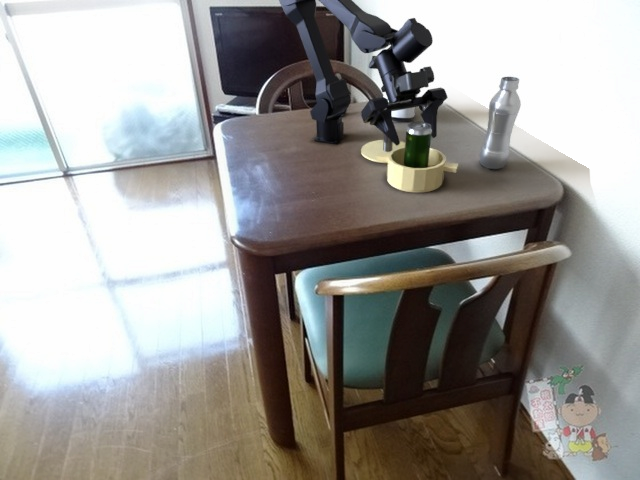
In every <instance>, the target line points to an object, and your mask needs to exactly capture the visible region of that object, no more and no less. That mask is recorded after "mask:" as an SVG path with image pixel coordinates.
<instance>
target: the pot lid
mask: <svg viewBox="0 0 640 480" xmlns="http://www.w3.org/2000/svg"><path fill="white" fill-rule="evenodd" d="M399 142H400V144H399V145H397V146H396V145H395V144H394V143H393V142H392V141H391V140H390V139H389V138H388V137H387V136H386V135H385V134H384V133H383V139H377V140H373V141H369V142H367V143H364V145H363V146H361V149H360V154H361V155H362V156H363V157H364V158H365V159H367V160H369V161H372V162H374V163H381V164H388V162H386V161H380V160H376V156H377V155H378V154H379V152H383V153H390V152H391V151H392V150H394V149H396V148H399V147H404V146H405V141H401V140H399Z"/></svg>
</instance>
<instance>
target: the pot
mask: <svg viewBox="0 0 640 480" xmlns="http://www.w3.org/2000/svg"><path fill="white" fill-rule="evenodd" d="M404 152H405V146H404V147H399V148H396V149H394V150H392V151H391V152H390V153H383V152H379V154H378V155H377V156H376V160H380V161H386V162H388V163H386V164H387V165H386V180H387V182H388V184H389V185H390V186H391V187H392V188H395V189H397V190H399V191H403V192H407V193H415V194H417V193H421V194H422V193H428V192H431V191H435V190H438V189H439V188H440V187H441V186H442V185H443V182H444V178H445V173H446V172H449V173H455V174H456V173H457V171H458V169H459V163H455V162H449V161H447V157H446V155H445V154H444V153H443V152H441V151H440V150H439V149H436V148H433V147H430V152H429V161H428V168H411V167H405V166H403V164H404Z"/></svg>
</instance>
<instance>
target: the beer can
mask: <svg viewBox="0 0 640 480" xmlns="http://www.w3.org/2000/svg"><path fill="white" fill-rule="evenodd" d="M431 135H432V129H431V125H430V124H429V123H426V122H424V121H412V122H409V123H408V124H407V127H406V130H405V139H404V142H405V152H404V164H403V166H405V167H411V168H428V161H429V152H430V148H431V144H432V143H431V142H432V136H431Z"/></svg>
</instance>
